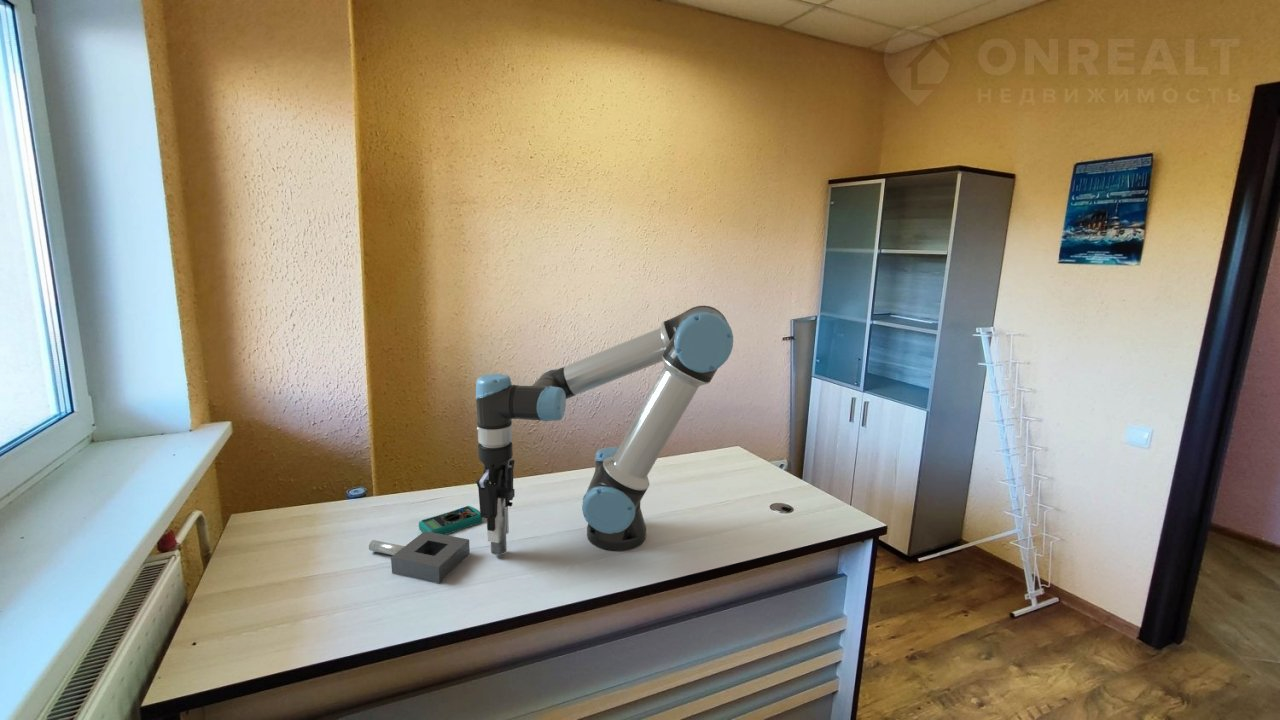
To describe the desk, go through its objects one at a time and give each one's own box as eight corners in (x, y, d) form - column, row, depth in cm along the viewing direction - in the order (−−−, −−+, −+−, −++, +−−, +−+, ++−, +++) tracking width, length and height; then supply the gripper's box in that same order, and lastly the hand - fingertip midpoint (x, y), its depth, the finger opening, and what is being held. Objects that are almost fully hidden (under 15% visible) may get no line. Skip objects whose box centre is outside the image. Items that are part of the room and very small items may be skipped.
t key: (517, 549, 135) (516, 487, 132) (510, 557, 132) (508, 494, 129) (487, 544, 137) (485, 483, 134) (479, 551, 134) (477, 489, 131)
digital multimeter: (484, 523, 150) (484, 512, 150) (430, 542, 140) (429, 531, 140) (471, 513, 156) (471, 503, 155) (417, 530, 146) (417, 519, 145)
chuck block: (469, 554, 135) (469, 539, 134) (439, 583, 123) (438, 567, 122) (390, 539, 140) (389, 524, 139) (354, 565, 129) (352, 549, 128)
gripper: (498, 429, 138) (501, 518, 143) (459, 453, 122) (464, 552, 127) (526, 432, 136) (528, 522, 141) (491, 457, 120) (494, 558, 125)
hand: (498, 536), depth 134 cm, fingers closed on t key, 4 cm apart
